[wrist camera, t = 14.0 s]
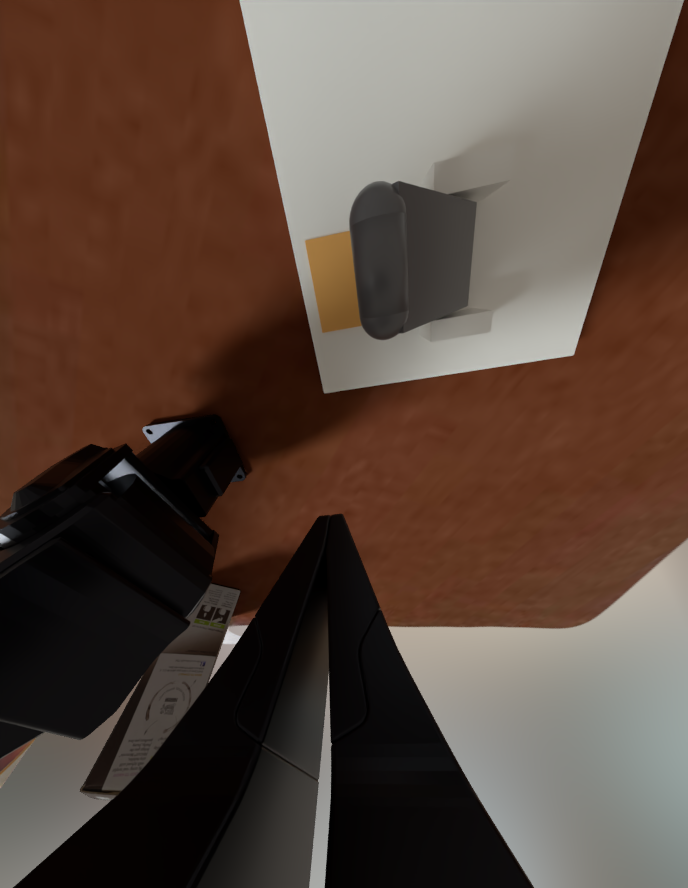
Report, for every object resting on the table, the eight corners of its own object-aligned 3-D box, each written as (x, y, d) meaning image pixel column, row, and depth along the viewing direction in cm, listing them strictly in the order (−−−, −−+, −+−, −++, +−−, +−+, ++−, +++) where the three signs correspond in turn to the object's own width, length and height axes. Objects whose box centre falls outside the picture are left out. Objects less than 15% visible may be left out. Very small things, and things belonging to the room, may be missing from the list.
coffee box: (193, 578, 32) (75, 793, 18) (242, 589, 33) (167, 798, 19) (187, 609, 36) (89, 801, 23) (230, 618, 38) (163, 806, 24)
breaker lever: (441, 311, 14) (353, 345, 10) (444, 211, 12) (332, 191, 7) (474, 307, 13) (393, 345, 8) (485, 196, 11) (382, 163, 6)
